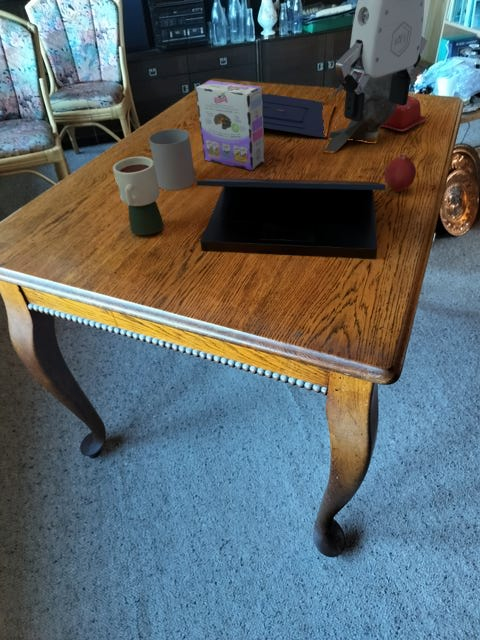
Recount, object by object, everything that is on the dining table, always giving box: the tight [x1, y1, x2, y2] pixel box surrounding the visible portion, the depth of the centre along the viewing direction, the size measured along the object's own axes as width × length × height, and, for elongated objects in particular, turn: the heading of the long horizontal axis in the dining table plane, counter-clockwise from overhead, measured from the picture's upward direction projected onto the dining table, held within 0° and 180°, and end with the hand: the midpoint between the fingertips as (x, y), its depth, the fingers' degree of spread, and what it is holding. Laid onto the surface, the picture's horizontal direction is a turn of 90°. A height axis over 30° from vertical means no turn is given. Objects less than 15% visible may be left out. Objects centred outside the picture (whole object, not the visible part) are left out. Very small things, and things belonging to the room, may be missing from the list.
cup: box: [148, 128, 196, 192], centre depth 100 cm, size 8×8×10 cm
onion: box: [384, 152, 417, 193], centre depth 91 cm, size 6×6×8 cm
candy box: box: [194, 79, 265, 171], centre depth 104 cm, size 14×6×16 cm, turn 57°
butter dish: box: [380, 95, 427, 132], centre depth 117 cm, size 12×12×8 cm
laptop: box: [200, 187, 379, 260], centre depth 87 cm, size 22×30×2 cm
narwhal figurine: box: [324, 58, 397, 153], centre depth 106 cm, size 14×15×18 cm
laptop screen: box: [195, 177, 387, 191], centre depth 84 cm, size 22×30×1 cm
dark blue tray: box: [262, 93, 325, 138], centre depth 126 cm, size 24×30×4 cm
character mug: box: [112, 155, 165, 236], centre depth 85 cm, size 11×7×13 cm, turn 173°
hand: (375, 111), depth 72 cm, fingers open, 9 cm apart
